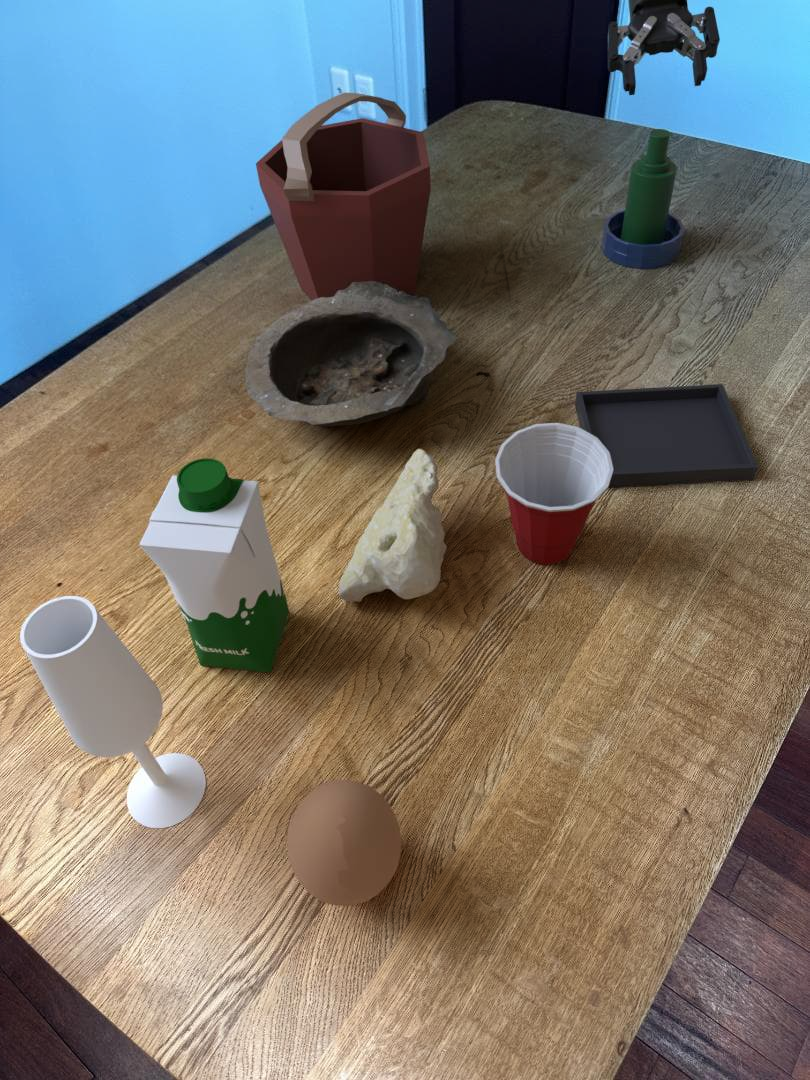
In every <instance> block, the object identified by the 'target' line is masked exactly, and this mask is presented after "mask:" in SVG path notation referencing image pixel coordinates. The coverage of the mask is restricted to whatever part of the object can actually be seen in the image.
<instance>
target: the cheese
mask: <svg viewBox="0 0 810 1080" xmlns="http://www.w3.org/2000/svg"><path fill="white" fill-rule="evenodd" d="M439 481H440V480H439V478H438V464H437V463H436V461H435V457H433V456H432V455H429V454H428V453H427V451H425V450H424V449H422V448H417V449H416V450H415V451H414V452H413V453H412V455H411V457H410V458H409V459H408V461H406V463H405V466H404V468H403V471H401V473H400V475H399V477H398V479H397V481H396V483H395V484H394V486H393V487H392V489H391V491H389V493H388V495H387V497H386V498H385V500H384V501H383V504H382V505H381V506H379V508H377V510H376V511H375V513H374V514H373V515H372V518H371V520H370V521H369V522H368V525H367V526H366V527H365V530H364V531H363V533H362V535H361V536H360V537H359V539H358V541H357V544H356V546H355V549H354V553H353V555H352V557H351V558H350V561H349V562H348V564H347V567H346V568H345V570H344V572H343V574H342V576H341V578H340V581H339V584H338V596H339V597H340V599H342V600H343V601H345V602H346V603H347V602H349V603H351V602H362V600H363V598H364V597H365V596H367V595H369V594H373V593H381V592H383V591H384V590H390V591H392V592H393V593H395V595H396V596H398V597H399V598H401V599H403V600H412V599H414V598H419V597H422V596H425V595H428V594H429V593H432V592H433V591H434V590H435V589H436V588H437V587H438V585H439V583H440V582H441V572H442V571H441V566H442V564H443V561H444V555H445V553H446V551H447V548H448V547H447V545H446V543H445V542H444V540H445V537H446V534H445V531H444V528H443V524H442V521H443V518H442V517H443V515H442V513H441V511H440V510H439V508H438V507H437V506H436V505H434V503H433V501H432V499H433V496H434V494H435V493H436V492H437V490H438V489H439V485H440V483H439Z"/></svg>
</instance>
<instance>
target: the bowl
mask: <svg viewBox="0 0 810 1080" xmlns="http://www.w3.org/2000/svg"><path fill="white" fill-rule="evenodd" d="M624 214H625V209H622V210H619V211H616V212H614V213H612V214H610V216H608V217H607V218H606V221H605V223H604V225H603V226H604V227H603V233H602V241H601V251H602V252H603V255H604V256H605V257H606V258H607V259H608V260H610V261H611V262H612V263H615V264H617V265H620V266H622V267H624V268H625V267H626V268H633V269H639V270H643V269H644V270H645V269H647V270H648V269H658V268H661V267H663V266H667V265H671V263H672V262H673V261H675V260H676V259H678V257H679V253H680V252H681V251H680V250H681V245H682V241H683V237H684V233H685V232H684V231H685V226H684V223H683V222H682V220H681V219H680V218H679V217H677V216H675V215H674V214H673V213H671V212H669V213H668V218H667V223H666V229H665V234H664V239H663V243H660V244H648V245H643V244H636V243H629V242H627V241H624V240H621V234H622V227H623V221H624Z"/></svg>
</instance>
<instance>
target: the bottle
mask: <svg viewBox="0 0 810 1080" xmlns="http://www.w3.org/2000/svg"><path fill="white" fill-rule="evenodd" d="M670 136H671V132H670V131H669V130H667V129H664V128H657V129H652V130H651V131H650V132H649V136H648V143H647V149H646V154H644V155H642V156H641V158H640V159H638V160H635V161H634V162H633V163H632V165H631V169H630V176H629V180H628V181H629V182H628V187H627V194H626V202H625V208H624V210H625V214H624V221H623V227H622V234H621V240H624V241H627V242H629V243H636V244H643V245H648V244H660V243H663V239H664V234H665V229H666V223H667V218H668V213H670V207H671V202H672V197H673V191H674V187H675V183H676V176H677V171H678V166H677V164H675V162H673V161H672V160H671V158H670V157H669V156H668V149H669V143H670V140H671V139H670Z"/></svg>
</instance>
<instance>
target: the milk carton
mask: <svg viewBox="0 0 810 1080" xmlns="http://www.w3.org/2000/svg"><path fill="white" fill-rule="evenodd" d="M262 501H263V500H262V496H261V490H260V484H259V481H256V480H244V479H243V478H232V477H230V476H229V474H228V470H227V467H226V465H225V464H224V463H222V461H220V460H218V459H215V458H209V457H203V458H198V459H195V460H192V461H190V462H188V463H186V464H185V465H183V467H181V469H180V470H179V471H178V473H177V475H174V474H173V475H171V478H170V479H169V481H168V483H167V485H166V487H165V489H164V491H163V493H162V495H161V497H160V499H159V501H158V502H157V504H156V506H155V509H154V510H153V511H152V513H151V515H150V517H149V520H148V521H149V523H148V525H147V528H146V530H145V532H144V534H143V536H142V538H141V540H140V542H139V547H140V548H141V549H142V551H144V552H145V553H146V555H147V556H148V557H149V558H150V559H151V560H152V561H153V562H154V564H155V565H156V566H157V568H159V569H160V571H161V572H162V573H163V575H164V577H165V580H166V581H167V584H168V585H169V588H170V590H171V593H172V594H173V596H174V599H175V601H176V603H177V605H178V608H179V610H180V613H181V615H182V617H183V619H184V621H185V623H186V626H187V629H188V632H189V635H190V638H191V642H192V645H193V647H194V650H195V654H196V656H197V659H198V663H199V665H200V666H201V667H210V668H211V667H212V668H221V669H228V670H229V669H230V670H239V671H248V672H249V671H251V672H257V673H258V672H259V673H267V674H271V673H272V671H273V667H274V664H275V660H276V658H277V654H278V651H279V647H280V644H281V642H282V638H283V634H284V631H285V628H286V626H287V622H288V619H289V615H290V609H289V604H288V601H287V597H286V593H285V590H284V586H283V581H282V578H281V575H280V571H279V568H278V564H277V561H276V557H275V553H274V550H273V546H272V543H271V539H270V535H269V532H268V528H267V523H266V517H265V512H264V507H263V502H262Z"/></svg>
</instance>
